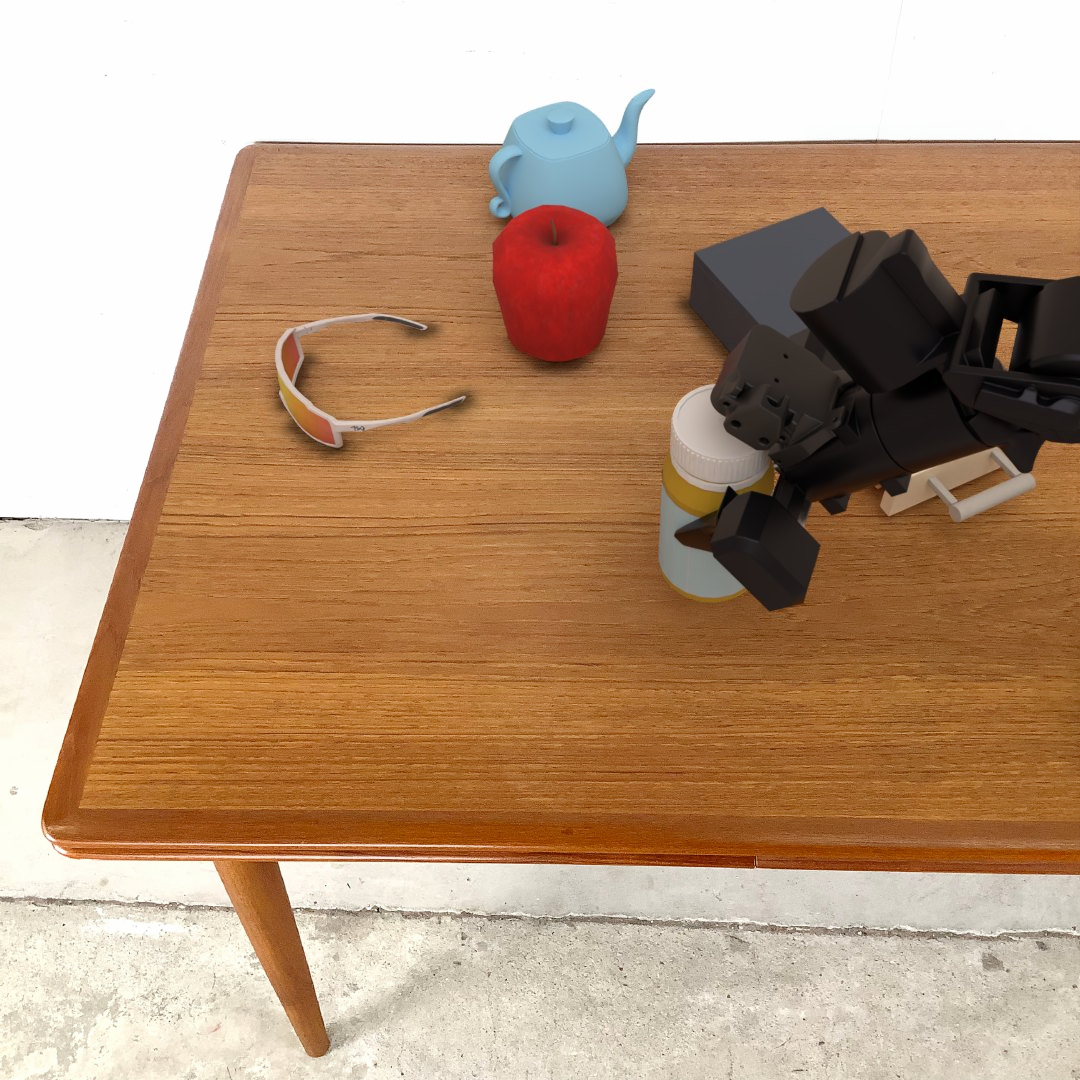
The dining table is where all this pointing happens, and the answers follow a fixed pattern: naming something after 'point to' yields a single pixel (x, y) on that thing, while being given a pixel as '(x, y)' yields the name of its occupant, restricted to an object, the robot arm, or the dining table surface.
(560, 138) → the teapot
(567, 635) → the dining table surface
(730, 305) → the cabinet
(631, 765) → the dining table surface
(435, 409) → the sunglasses
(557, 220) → the apple
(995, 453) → the drawer
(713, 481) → the bottle
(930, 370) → the robot arm
